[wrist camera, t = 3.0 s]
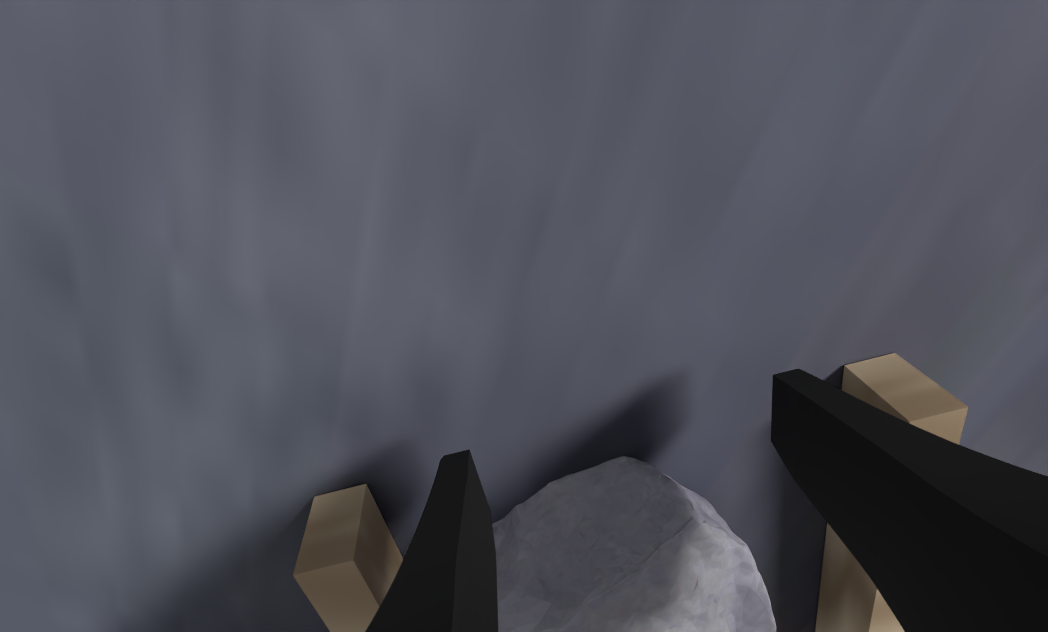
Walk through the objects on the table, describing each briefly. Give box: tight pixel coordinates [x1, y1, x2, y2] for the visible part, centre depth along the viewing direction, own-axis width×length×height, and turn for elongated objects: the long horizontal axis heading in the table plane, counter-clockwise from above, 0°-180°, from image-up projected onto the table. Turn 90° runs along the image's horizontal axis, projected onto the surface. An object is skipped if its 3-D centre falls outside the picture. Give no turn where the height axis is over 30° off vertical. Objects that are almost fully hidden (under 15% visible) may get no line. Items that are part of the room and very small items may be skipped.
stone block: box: [492, 456, 776, 632], centre depth 18 cm, size 12×5×10 cm
